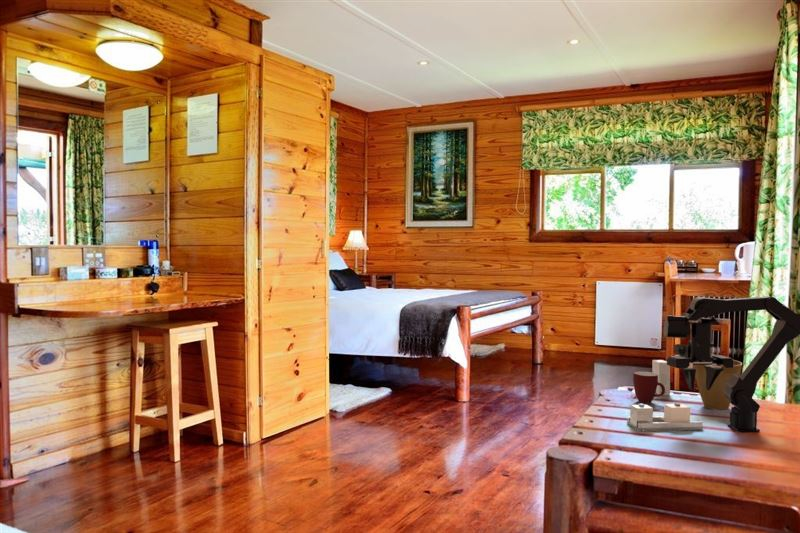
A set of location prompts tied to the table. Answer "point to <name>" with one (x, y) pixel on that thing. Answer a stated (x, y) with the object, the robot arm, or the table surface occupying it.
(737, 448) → the table surface
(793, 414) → the table surface
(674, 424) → the rail
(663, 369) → the skincare box
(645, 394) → the mug
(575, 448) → the table surface
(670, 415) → the block
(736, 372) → the plant pot
